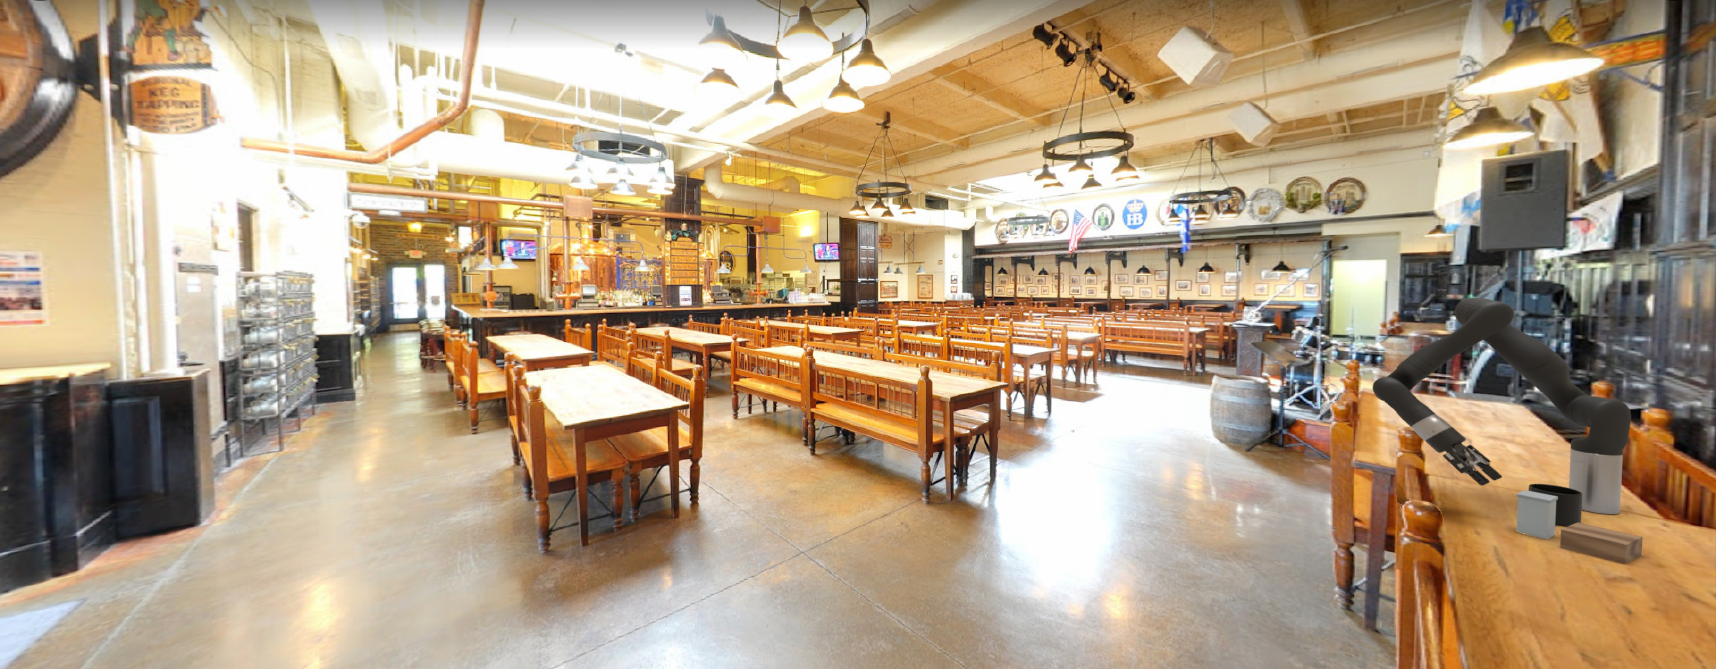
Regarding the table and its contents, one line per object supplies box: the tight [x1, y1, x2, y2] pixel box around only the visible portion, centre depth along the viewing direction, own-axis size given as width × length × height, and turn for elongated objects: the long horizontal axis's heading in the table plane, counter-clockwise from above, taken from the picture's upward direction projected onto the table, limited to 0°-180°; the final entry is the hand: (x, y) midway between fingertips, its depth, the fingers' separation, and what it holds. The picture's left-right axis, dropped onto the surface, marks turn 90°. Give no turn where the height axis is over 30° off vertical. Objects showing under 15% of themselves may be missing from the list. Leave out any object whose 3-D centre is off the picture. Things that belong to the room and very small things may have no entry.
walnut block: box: [1559, 522, 1644, 565], centre depth 138 cm, size 10×10×5 cm
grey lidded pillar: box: [1516, 489, 1558, 540], centre depth 149 cm, size 6×6×11 cm
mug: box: [1528, 483, 1583, 527], centre depth 158 cm, size 9×12×9 cm
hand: (1492, 481), depth 156 cm, fingers open, 8 cm apart
